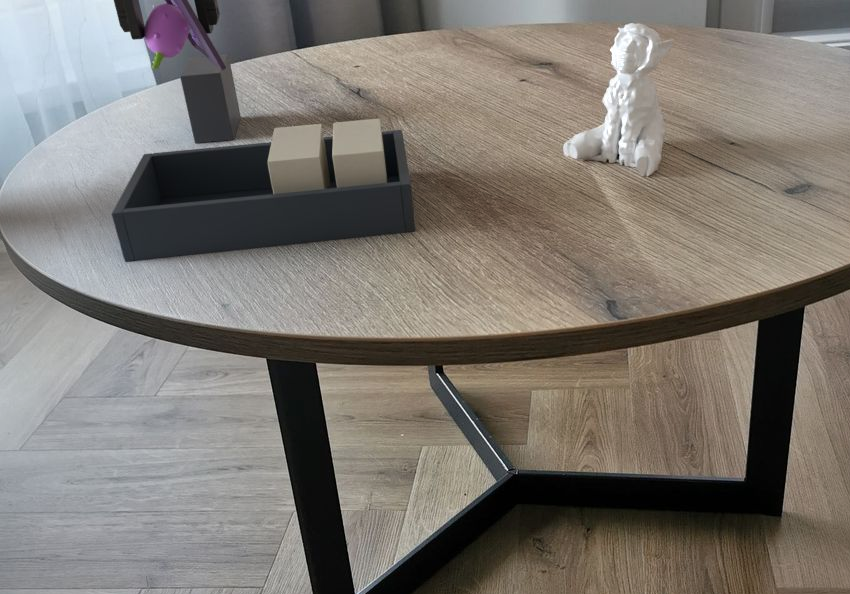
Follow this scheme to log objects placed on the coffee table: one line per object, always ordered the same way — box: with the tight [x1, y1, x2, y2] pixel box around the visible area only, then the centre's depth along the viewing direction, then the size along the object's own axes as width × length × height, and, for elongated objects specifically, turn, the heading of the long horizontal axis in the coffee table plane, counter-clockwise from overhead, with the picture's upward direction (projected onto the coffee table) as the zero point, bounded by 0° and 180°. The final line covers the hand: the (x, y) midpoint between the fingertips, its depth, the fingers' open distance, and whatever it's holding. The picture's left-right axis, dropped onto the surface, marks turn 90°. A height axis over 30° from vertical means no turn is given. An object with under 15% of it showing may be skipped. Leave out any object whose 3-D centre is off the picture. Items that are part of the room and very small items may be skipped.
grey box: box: [179, 53, 242, 144], centre depth 102 cm, size 4×8×7 cm, turn 8°
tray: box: [111, 129, 416, 263], centre depth 80 cm, size 23×14×5 cm, turn 98°
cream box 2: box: [332, 118, 388, 188], centre depth 80 cm, size 4×8×6 cm, turn 8°
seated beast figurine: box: [562, 22, 675, 177], centre depth 87 cm, size 10×9×12 cm
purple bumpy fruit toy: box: [144, 0, 226, 71], centre depth 73 cm, size 7×5×9 cm
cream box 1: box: [268, 123, 331, 194], centre depth 80 cm, size 4×8×6 cm, turn 8°
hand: (173, 33), depth 73 cm, fingers closed on purple bumpy fruit toy, 4 cm apart
